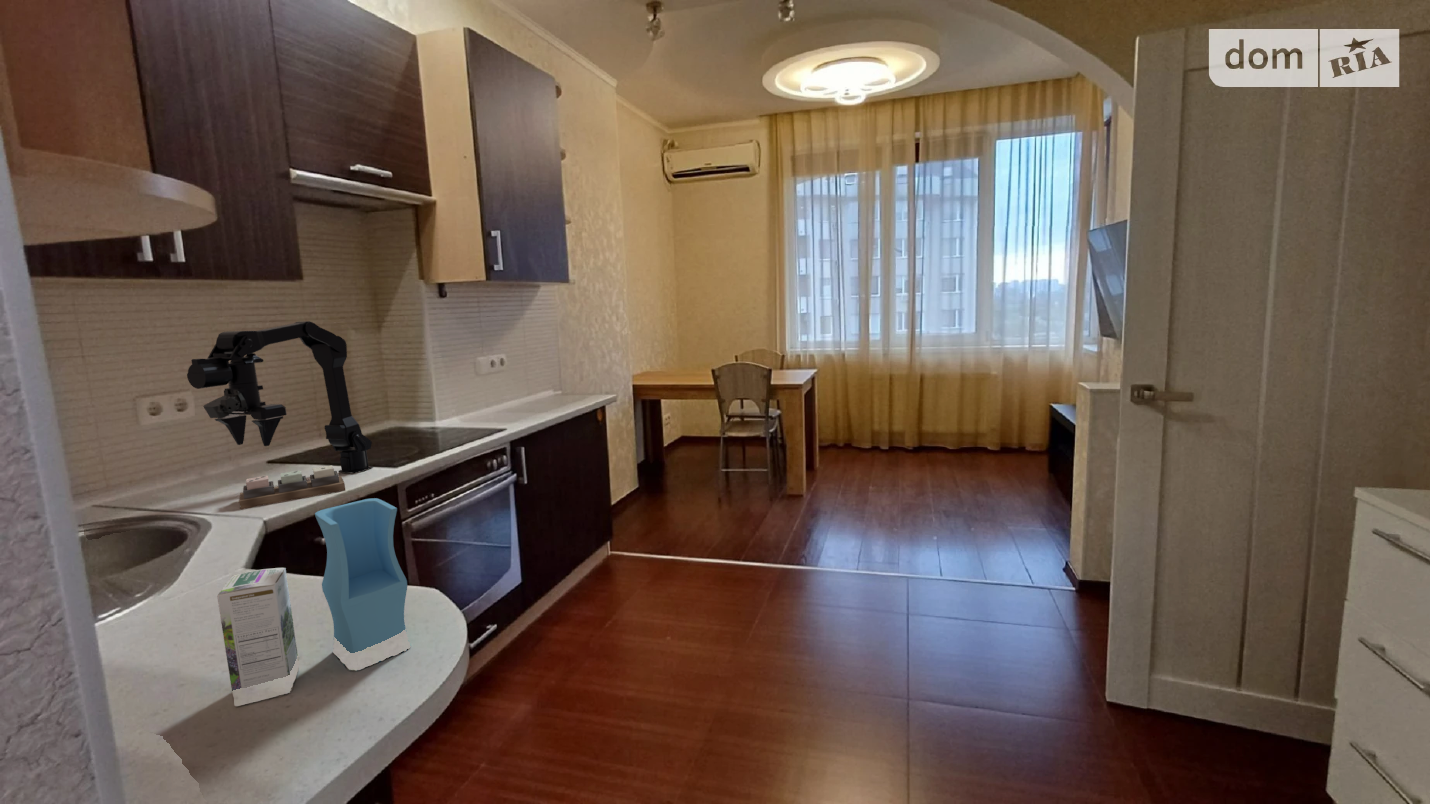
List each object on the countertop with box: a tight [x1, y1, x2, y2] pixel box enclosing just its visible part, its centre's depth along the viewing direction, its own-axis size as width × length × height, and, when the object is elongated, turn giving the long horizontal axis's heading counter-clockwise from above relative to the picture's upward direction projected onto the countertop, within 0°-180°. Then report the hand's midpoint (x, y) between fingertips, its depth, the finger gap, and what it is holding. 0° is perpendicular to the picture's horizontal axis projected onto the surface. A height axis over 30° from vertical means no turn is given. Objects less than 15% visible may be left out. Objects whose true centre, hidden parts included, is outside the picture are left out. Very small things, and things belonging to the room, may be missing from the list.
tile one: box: [312, 465, 335, 479], centre depth 161 cm, size 4×4×2 cm
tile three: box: [245, 475, 270, 490], centre depth 153 cm, size 4×4×2 cm
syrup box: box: [217, 567, 299, 692], centre depth 75 cm, size 6×6×14 cm
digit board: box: [238, 470, 346, 510], centre depth 158 cm, size 22×9×4 cm, turn 126°
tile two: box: [279, 470, 303, 484], centre depth 157 cm, size 4×4×2 cm
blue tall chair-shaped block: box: [314, 497, 408, 653], centre depth 82 cm, size 8×8×20 cm
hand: (253, 445), depth 152 cm, fingers open, 9 cm apart
